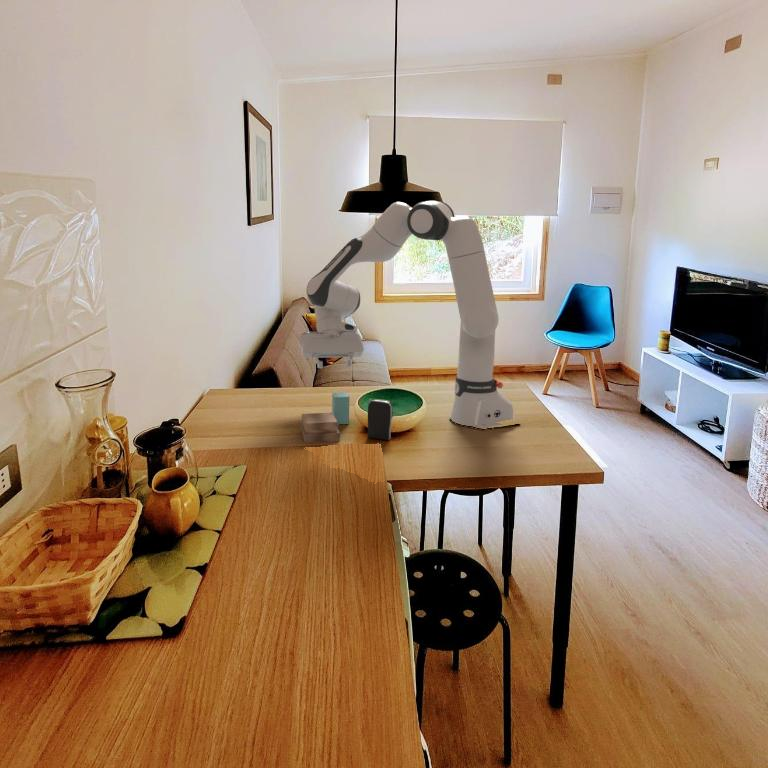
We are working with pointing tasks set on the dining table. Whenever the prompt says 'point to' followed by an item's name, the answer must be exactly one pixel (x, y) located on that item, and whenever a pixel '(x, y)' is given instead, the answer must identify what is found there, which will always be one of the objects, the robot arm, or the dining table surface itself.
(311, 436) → the tower base
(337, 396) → the teal post
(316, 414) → the tower top
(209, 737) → the dining table surface
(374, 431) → the battery
